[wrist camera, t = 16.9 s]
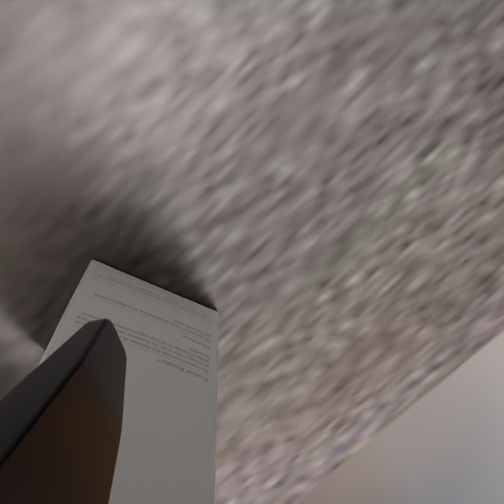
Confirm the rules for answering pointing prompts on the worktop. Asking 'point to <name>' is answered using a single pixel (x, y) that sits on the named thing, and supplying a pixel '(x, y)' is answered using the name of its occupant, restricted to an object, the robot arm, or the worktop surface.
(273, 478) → the worktop surface
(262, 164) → the worktop surface
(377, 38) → the worktop surface
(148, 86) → the worktop surface
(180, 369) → the supplement box
